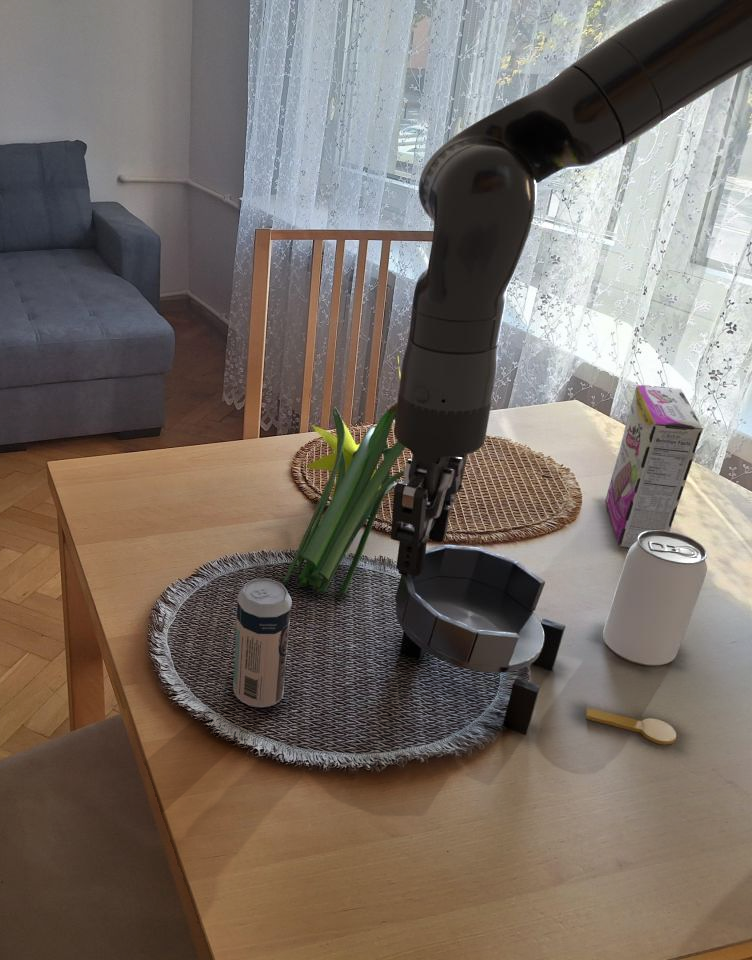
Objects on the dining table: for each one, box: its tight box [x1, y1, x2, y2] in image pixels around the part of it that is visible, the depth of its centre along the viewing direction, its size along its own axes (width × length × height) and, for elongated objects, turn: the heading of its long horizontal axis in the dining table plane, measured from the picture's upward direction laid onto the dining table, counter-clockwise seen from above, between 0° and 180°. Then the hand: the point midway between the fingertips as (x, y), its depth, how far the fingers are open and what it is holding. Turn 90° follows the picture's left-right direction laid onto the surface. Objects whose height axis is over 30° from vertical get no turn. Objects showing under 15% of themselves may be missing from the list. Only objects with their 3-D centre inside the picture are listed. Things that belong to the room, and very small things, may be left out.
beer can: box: [232, 578, 293, 708], centre depth 79 cm, size 5×5×12 cm
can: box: [602, 530, 708, 667], centre depth 83 cm, size 6×6×12 cm
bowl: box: [394, 517, 546, 674], centre depth 79 cm, size 14×13×9 cm
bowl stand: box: [399, 618, 566, 736], centre depth 82 cm, size 13×11×5 cm
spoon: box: [585, 707, 678, 745], centre depth 76 cm, size 7×3×1 cm, turn 65°
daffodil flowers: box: [281, 356, 406, 598], centre depth 104 cm, size 17×15×35 cm
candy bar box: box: [604, 384, 704, 550], centre depth 101 cm, size 11×5×16 cm, turn 161°
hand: (421, 553), depth 81 cm, fingers closed on bowl, 6 cm apart
